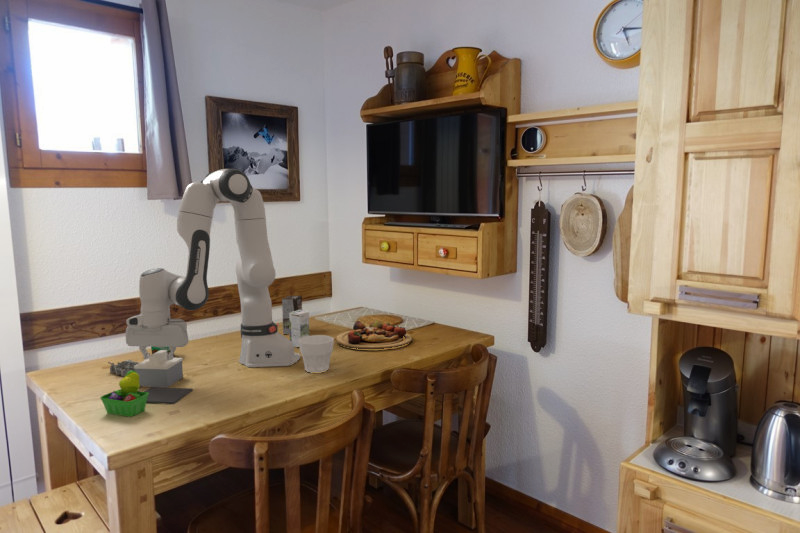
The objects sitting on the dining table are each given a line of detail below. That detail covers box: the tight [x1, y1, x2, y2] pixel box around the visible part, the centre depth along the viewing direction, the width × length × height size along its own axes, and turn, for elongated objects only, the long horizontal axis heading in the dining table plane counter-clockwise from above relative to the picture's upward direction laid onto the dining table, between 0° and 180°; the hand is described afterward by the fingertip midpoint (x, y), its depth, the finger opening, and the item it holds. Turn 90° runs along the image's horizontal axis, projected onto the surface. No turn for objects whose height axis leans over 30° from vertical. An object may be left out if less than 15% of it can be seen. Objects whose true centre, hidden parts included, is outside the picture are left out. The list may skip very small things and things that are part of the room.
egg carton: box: [107, 359, 140, 377], centre depth 201 cm, size 11×8×4 cm
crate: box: [135, 360, 184, 388], centre depth 190 cm, size 11×10×6 cm
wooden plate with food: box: [335, 319, 413, 349], centre depth 239 cm, size 32×32×8 cm
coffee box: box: [281, 295, 303, 335], centre depth 255 cm, size 9×6×16 cm
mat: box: [143, 387, 194, 405], centre depth 176 cm, size 14×12×1 cm
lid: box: [134, 350, 184, 369], centre depth 189 cm, size 11×10×5 cm
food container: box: [150, 347, 175, 358], centre depth 217 cm, size 12×6×10 cm, turn 168°
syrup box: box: [289, 309, 310, 347], centre depth 232 cm, size 6×6×14 cm
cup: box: [298, 334, 335, 373], centre depth 200 cm, size 12×12×11 cm
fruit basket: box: [99, 371, 149, 418], centre depth 164 cm, size 11×9×11 cm
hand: (158, 359), depth 189 cm, fingers open, 7 cm apart
